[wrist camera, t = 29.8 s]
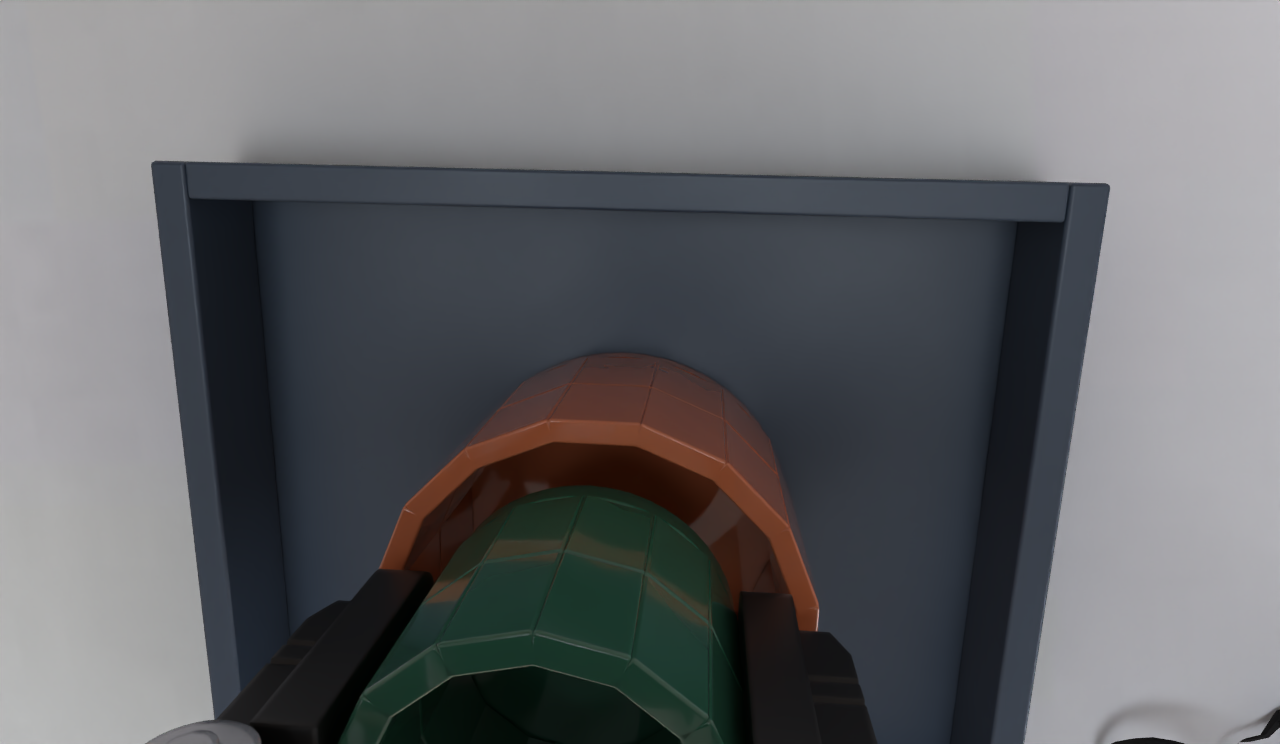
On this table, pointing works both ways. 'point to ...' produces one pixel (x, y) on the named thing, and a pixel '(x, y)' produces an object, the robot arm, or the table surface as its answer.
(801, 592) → the big bowl
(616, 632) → the small bowl
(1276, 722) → the creature
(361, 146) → the table surface
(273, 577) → the tray
